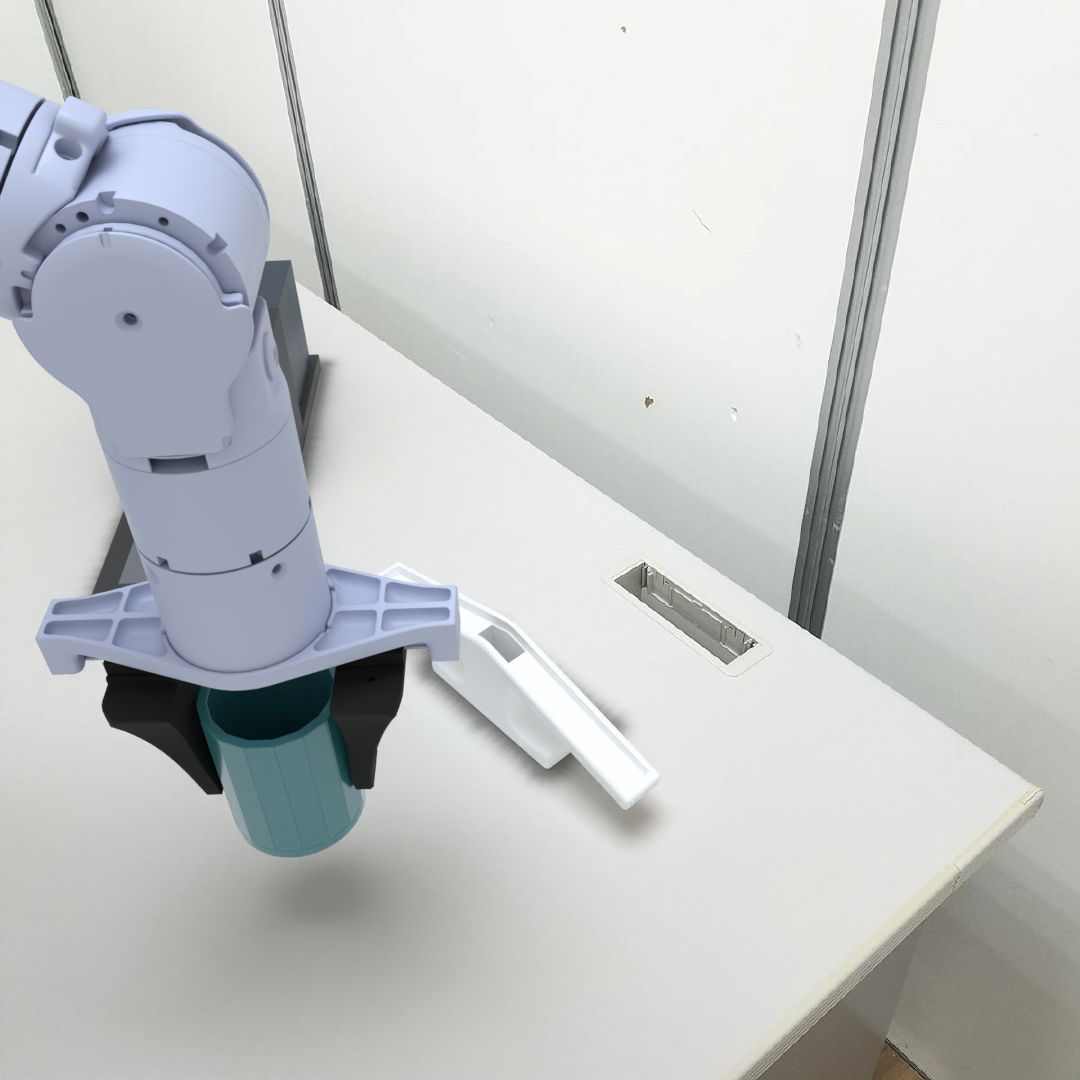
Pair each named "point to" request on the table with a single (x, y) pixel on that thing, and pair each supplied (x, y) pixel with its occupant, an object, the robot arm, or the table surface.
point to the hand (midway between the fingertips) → (293, 771)
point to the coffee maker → (301, 381)
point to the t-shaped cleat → (535, 699)
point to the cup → (283, 764)
